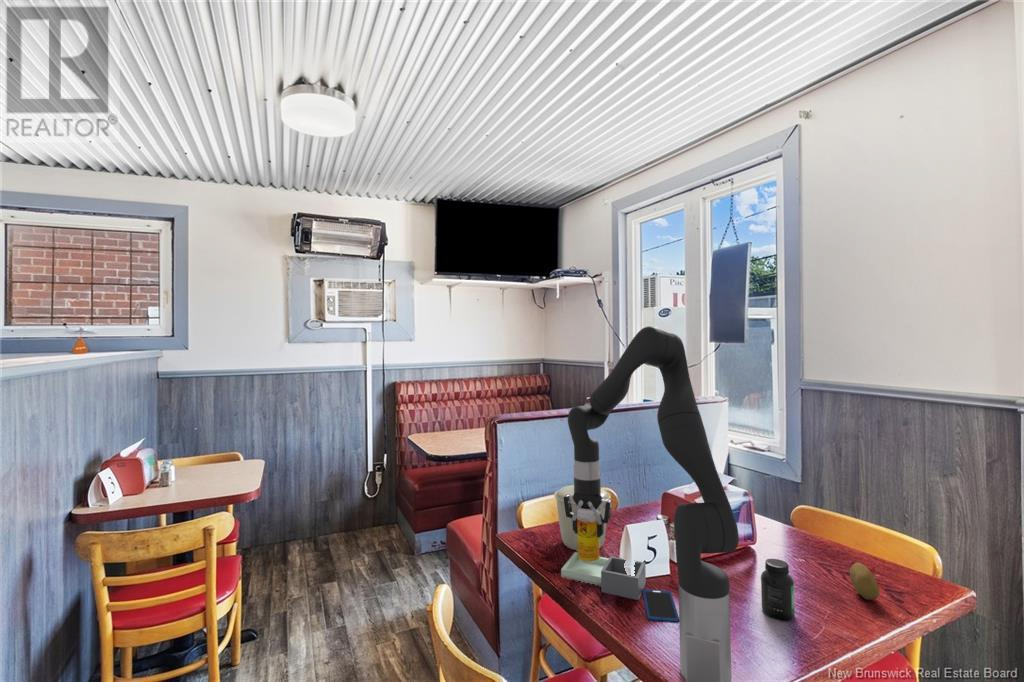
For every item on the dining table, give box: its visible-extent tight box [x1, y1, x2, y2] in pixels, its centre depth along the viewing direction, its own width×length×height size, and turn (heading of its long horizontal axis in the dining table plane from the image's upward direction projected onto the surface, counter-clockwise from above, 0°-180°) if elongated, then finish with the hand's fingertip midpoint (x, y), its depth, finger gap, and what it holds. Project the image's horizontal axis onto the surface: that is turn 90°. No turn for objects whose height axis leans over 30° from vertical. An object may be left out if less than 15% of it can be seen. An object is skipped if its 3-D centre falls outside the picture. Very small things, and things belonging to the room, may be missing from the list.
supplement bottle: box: [760, 558, 796, 622], centre depth 112 cm, size 7×7×12 cm
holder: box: [600, 555, 647, 601], centre depth 126 cm, size 10×10×6 cm
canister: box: [553, 484, 611, 552], centre depth 152 cm, size 18×18×21 cm
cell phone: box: [641, 588, 679, 624], centre depth 117 cm, size 7×14×1 cm, turn 170°
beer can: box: [577, 508, 601, 564], centre depth 134 cm, size 6×6×15 cm
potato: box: [849, 562, 881, 601], centre depth 119 cm, size 7×8×8 cm
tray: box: [560, 551, 610, 587], centre depth 134 cm, size 12×12×2 cm
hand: (588, 534), depth 134 cm, fingers closed on beer can, 6 cm apart
